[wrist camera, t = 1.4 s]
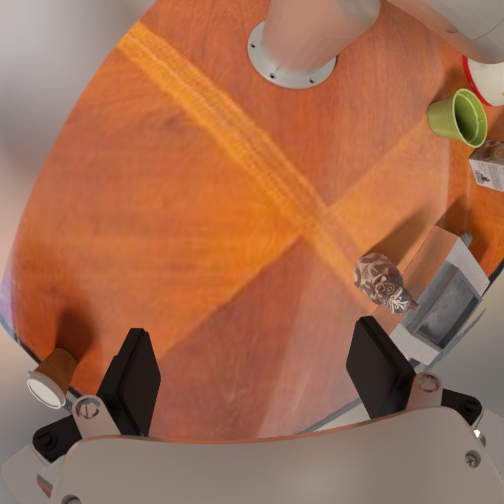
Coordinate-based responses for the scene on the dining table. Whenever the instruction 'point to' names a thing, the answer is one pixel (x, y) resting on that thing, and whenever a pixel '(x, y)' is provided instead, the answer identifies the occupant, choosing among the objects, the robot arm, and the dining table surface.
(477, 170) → the coffee box
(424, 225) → the dining table surface
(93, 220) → the dining table surface
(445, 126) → the plant pot
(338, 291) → the dining table surface
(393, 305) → the figurine
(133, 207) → the dining table surface
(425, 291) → the grey box with knob
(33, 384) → the disposable coffee cup
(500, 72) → the kitchen timer
